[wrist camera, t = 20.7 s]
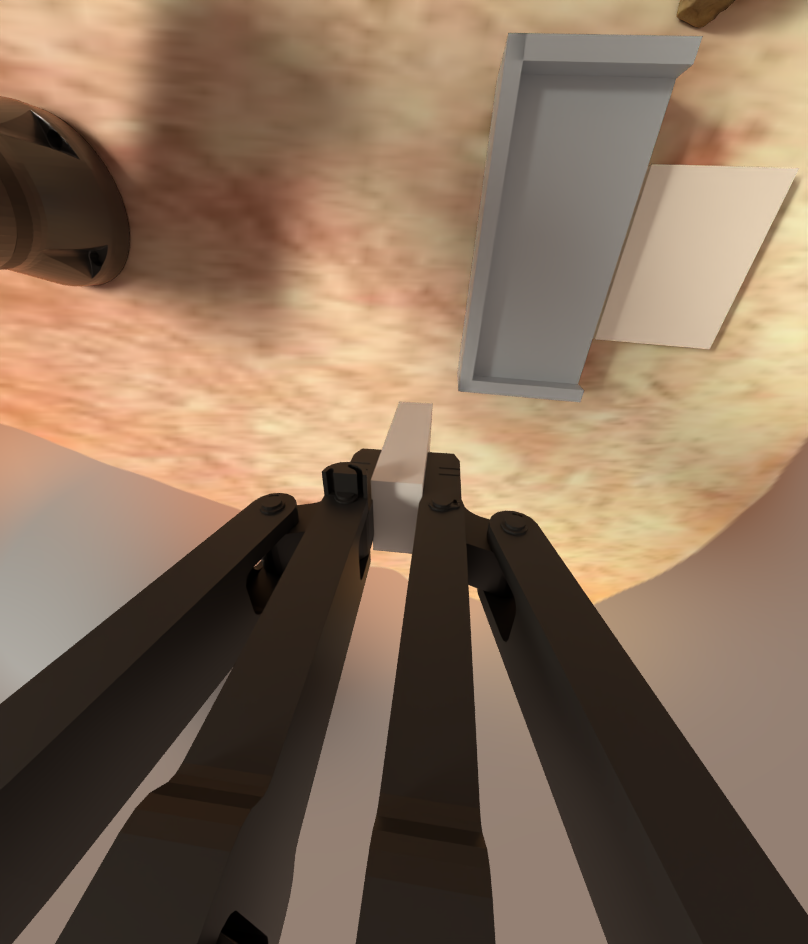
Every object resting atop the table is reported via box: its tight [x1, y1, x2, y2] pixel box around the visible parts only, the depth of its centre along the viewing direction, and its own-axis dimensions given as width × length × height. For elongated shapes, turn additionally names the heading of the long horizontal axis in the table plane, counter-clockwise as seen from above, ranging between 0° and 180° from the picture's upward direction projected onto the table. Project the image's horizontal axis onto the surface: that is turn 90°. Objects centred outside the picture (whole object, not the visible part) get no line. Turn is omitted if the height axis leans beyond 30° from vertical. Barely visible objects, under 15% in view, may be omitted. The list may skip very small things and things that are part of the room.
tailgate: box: [593, 164, 799, 349], centre depth 33 cm, size 1×14×11 cm
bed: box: [457, 33, 703, 402], centre depth 31 cm, size 12×24×7 cm, turn 177°
